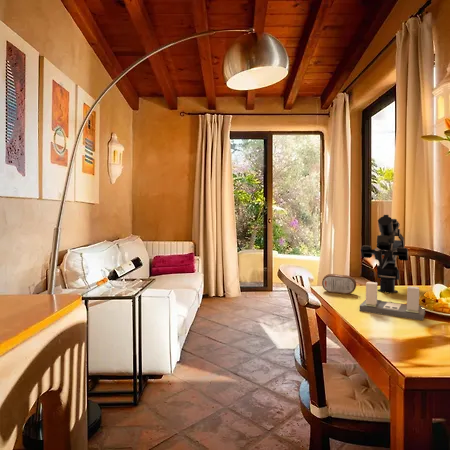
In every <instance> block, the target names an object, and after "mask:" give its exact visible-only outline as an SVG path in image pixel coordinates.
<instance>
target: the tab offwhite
mask: <svg viewBox="0 0 450 450" xmlns="http://www.w3.org/2000/svg"><path fill="white" fill-rule="evenodd" d="M377 290H378V282H376V281H375V282H374V281H367V282H366V283H365V300H366V304H371V305H376V304H377V300H378V291H377Z"/></svg>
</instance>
